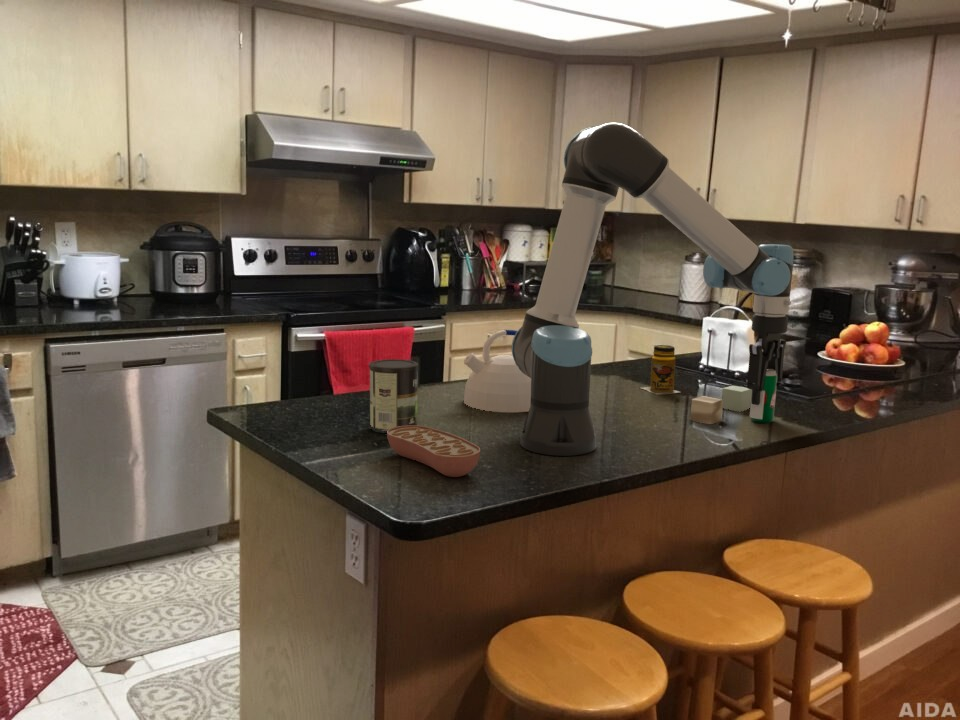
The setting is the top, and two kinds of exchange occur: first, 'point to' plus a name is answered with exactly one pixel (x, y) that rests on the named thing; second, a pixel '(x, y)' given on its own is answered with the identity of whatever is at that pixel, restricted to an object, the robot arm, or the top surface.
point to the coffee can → (393, 393)
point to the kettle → (497, 381)
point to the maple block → (706, 410)
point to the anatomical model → (435, 449)
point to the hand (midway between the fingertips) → (761, 415)
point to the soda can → (768, 397)
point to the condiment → (662, 370)
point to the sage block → (736, 398)
